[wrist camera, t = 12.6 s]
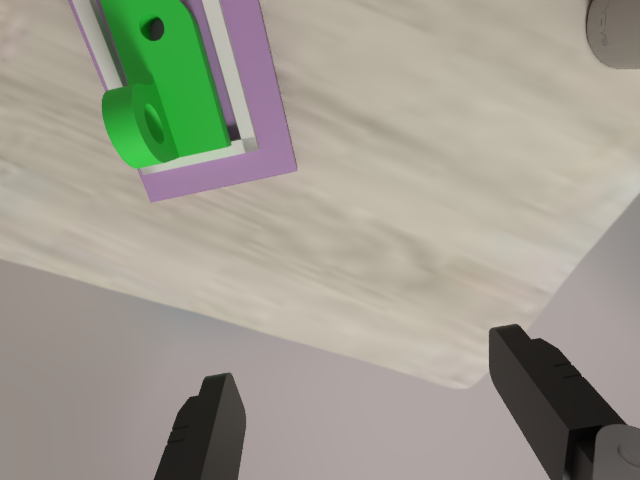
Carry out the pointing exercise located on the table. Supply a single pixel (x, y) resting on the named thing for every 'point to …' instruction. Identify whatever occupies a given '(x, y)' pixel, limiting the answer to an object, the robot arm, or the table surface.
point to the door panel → (233, 91)
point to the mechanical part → (161, 86)
